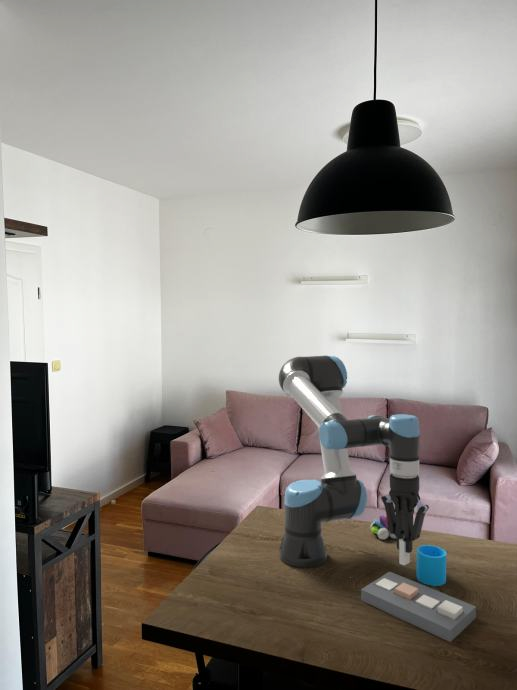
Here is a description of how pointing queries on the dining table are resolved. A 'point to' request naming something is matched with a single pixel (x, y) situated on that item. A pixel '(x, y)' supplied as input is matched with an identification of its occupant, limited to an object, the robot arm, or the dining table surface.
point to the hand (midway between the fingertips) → (404, 562)
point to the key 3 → (427, 602)
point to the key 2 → (406, 591)
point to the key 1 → (386, 584)
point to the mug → (431, 565)
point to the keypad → (419, 607)
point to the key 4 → (450, 610)
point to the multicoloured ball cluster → (382, 528)
